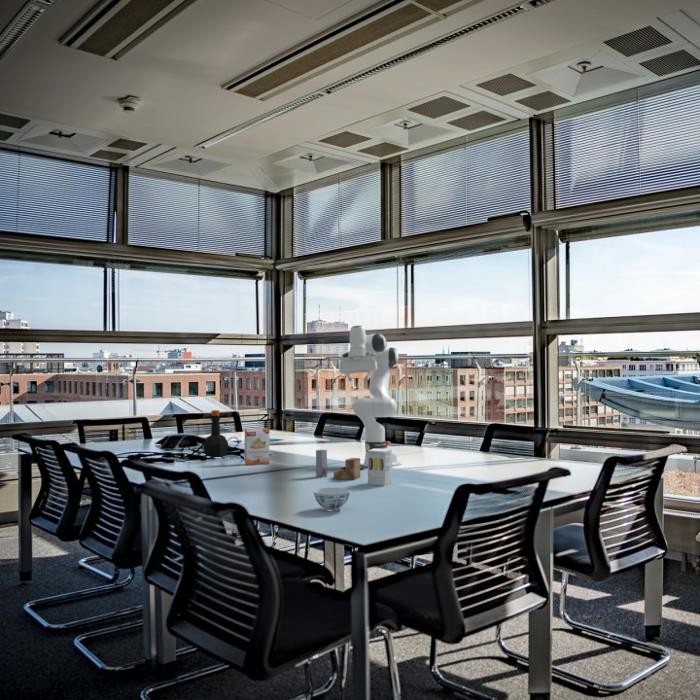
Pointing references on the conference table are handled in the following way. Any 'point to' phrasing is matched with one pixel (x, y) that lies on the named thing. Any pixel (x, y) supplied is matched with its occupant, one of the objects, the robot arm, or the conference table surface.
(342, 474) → the brown l-shaped block
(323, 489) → the chinaware
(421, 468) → the conference table surface
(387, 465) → the supplement box
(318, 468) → the grey tall block
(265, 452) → the cracker box
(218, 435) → the bottle
